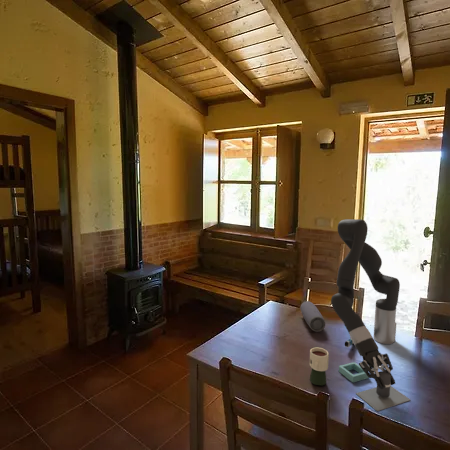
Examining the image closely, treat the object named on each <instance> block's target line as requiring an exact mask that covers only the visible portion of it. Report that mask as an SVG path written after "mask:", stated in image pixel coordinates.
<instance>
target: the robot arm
mask: <svg viewBox="0 0 450 450" xmlns="http://www.w3.org/2000/svg"><path fill="white" fill-rule="evenodd" d="M337 233H338V236H339V238H340V239H341V240H342V242H344V244H345V245H346V246H347V247H348V248H349V250H350V251H349V252H348V253H347V254H346V256H344V259H343V260H342V261H341V263H340V264H339V267H338V271H337V278H336V286H337V288H338V289H337V290H338V291H337V293H335V294H333V295H332V297H331V299H330V303H331V307H332V309H333V310H334V312H335V313H336V314H337V316H338V318H340V320H341V321H342V323H343V325H344V326H345V328H346V330H347V332H348V334H349V336H350V337H351V339H352V341H353V343H354V346H355V349H356V350H357V352H358V354H359V356H361V357H362V361H360V362H359V363H358V365H359V366H360V367H361V368H362V370H363V371H364V372H365V373H366V375H367V376H368V377H369V378H368V379H374V381H375V382H376V386H377V385H378V387H379V388H380V389H383V388H386V386H385V384H384V383H383V381H382V379H381V377H379V373H378V372H379V370H380V371H383V372H387V373H389V374H390V375H391V386H393V385H395V384H396V380H395V378H394V376H393V374H392V372H391V371H392V370H394V368H393V365H392V362H391V359H390V356H389V354H388V353H381V352H380V351H379V347H378V344H377V343H379V344H384V345H391V344H393V343H395V342H396V335H397V333H396V332H397V322H396V314H397V306H398V302H399V294H400V286H401V284H400V280H399V279H398V278H396V277H393V276H389V275H385V274H383V273H382V272H381V270H380V269H381V268H382V264H383V262H382V258H381V256H380V255H379V253H378V251H377V250H376V249H375V248H374V247H373V246H371V245H370V244H369V243H367V242H366V239H367V235H368V223H367V221H365V220H364V219H359V218H358V219H356V218H355V219H352V218H351V219H349V218H346V219H342V220H340V221H339V222H338V224H337ZM358 264H360V266H361V268H362V269H363V271H365V273H366V275H367V277H368V279H369V281H370V283H371V286H372V288H373V290H375V291H376V292H377V293H379V294H381V295H382V294H383V295H386V298H379V299H377V300H376V301H375V311H374V326H373V336H372V334H371V332H370V331H369V329H368V328H367V326H366V324H365V323H364V321H363V320H362V319H363V318H361V316H360V315H359V313H357V312H355V310H354V308H353V305H354V302H355V301H354V300H355V289H354V288H355V287H354V285H355V281H356V275H357V273H356V272H357V268H358ZM350 337H349V338H350ZM376 342H377V343H376Z"/></svg>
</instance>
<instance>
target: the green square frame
mask: <svg viewBox="0 0 450 450" xmlns="http://www.w3.org/2000/svg"><path fill="white" fill-rule="evenodd" d="M352 370H355V371H356V372H357V373H355V374H353V373H352V372H351V371H352ZM338 372H339V373H340V374H341V375H343V376H344V377H345V378H346V379H348V381H350V382H351V383H356V382H359V381H364V380H368V379H370V378H369V377H368V376H367V375H366V373H365V372H364V371H363V370H362V368H361V367H360V366H359V363H356V362H355V361H352V362H349V363H346V364H340V365H339V366H338Z"/></svg>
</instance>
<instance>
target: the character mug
mask: <svg viewBox="0 0 450 450" xmlns="http://www.w3.org/2000/svg"><path fill="white" fill-rule="evenodd" d="M329 355H330V353H329V351H328V350H327V349H324V348H322V347H313V348H311V349H309V367H311V372H310V377H309V381H310V383H311V384H313V385H314V386H315V385H316V386H325V385H326V384H327V373H326V372H327V371H328V369H329V358H330V357H329Z"/></svg>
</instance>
